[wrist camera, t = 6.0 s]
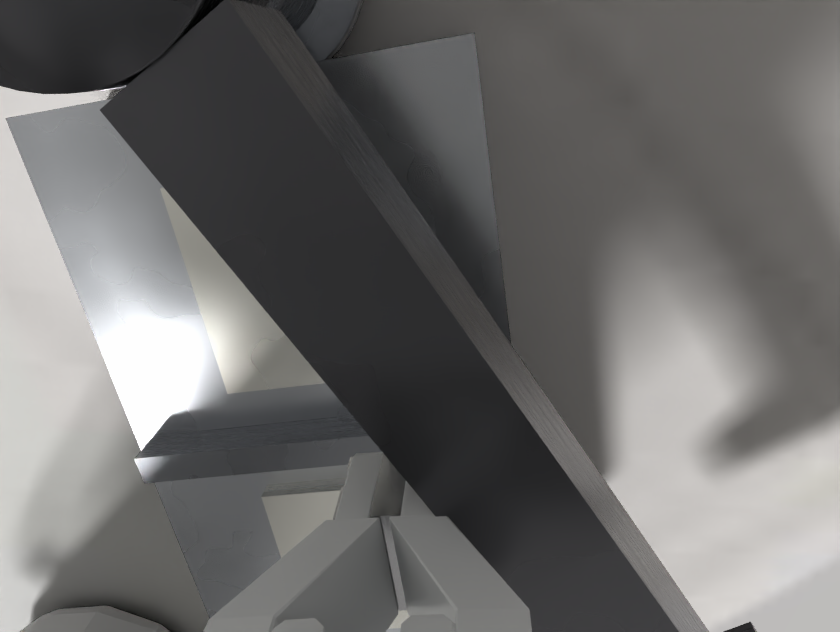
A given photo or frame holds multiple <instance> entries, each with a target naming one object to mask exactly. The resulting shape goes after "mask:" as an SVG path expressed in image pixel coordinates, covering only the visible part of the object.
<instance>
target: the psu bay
mask: <svg viewBox="0 0 840 632" xmlns="http://www.w3.org/2000/svg"><path fill="white" fill-rule="evenodd" d="M316 63H317V64H318V66H319V67H320V69H321V70H322V71H323V73H324V74H325V76H326V77H327V79H328V80H329V82H330V83H331V85H332V86H333V87H334V89H335V90H336V92H337V93H338V95H339V96H340V98H341V99H342V100H343V102H344V103H345V105H346V106H347V108H348V109H349V111H350V112H351V114H352V115H353V116H354V118H355V119H356V121H357V122H358V124H359V125H360V127H361V128H362V129H363V131H364V132H365V134H366V135H367V137H368V138H369V140H370V141H371V142H372V144H373V145H374V147H375V148H376V150H377V151H378V153H379V154H380V156H381V157H382V158H383V160H384V161H385V163H386V164H387V166H388V167H389V169H390V170H391V171H392V173H393V174H394V176H395V177H396V179H397V180H398V182H399V183H400V185H401V186H402V187H403V189H404V190H405V192H406V193H407V195H408V196H409V198H410V199H411V200H412V202H413V203H414V205H415V206H416V208H417V209H418V211H419V212H420V214H421V215H422V216H423V218H424V219H425V221H426V222H427V224H428V225H429V227H430V228H431V229H432V231H433V232H434V234H435V235H436V237H437V238H438V240H439V241H440V243H441V244H442V245H443V247H444V248H445V250H446V251H447V253H448V254H449V256H450V257H451V258H452V260H453V261H454V263H455V264H456V266H457V267H458V269H459V270H460V271H461V273H462V274H463V276H464V277H465V279H466V280H467V282H468V283H469V285H470V286H471V287H472V289H473V290H474V292H475V293H476V295H477V296H478V298H479V299H480V300H481V302H482V303H483V305H484V306H485V308H486V309H487V311H488V312H489V314H490V315H491V316H492V318H493V319H494V321H495V322H496V324H497V325H498V327H499V328H500V329H501V331H502V332H503V334H504V335H505V337H506V338H507V340H508V341H509V343H510V344H511V340H510V332H509V323H508V315H507V306H506V298H505V289H504V281H503V272H502V264H501V255H500V247H499V238H498V230H497V221H496V213H495V204H494V196H493V187H492V178H491V170H490V161H489V153H488V144H487V136H486V127H485V119H484V110H483V102H482V93H481V85H480V76H479V68H478V59H477V51H476V42H475V34H474V33H471V34H465V35H460V36H454V37H449V38H443V39H438V40H432V41H427V42H421V43H416V44H410V45H405V46H399V47H394V48H388V49H383V50H378V51H372V52H367V53H361V54H356V55H350V56H345V57H339V58H334V59H328V60H323V61H317V62H316ZM110 100H111V99H109V100H103V101H98V102H92V103H87V104H81V105H76V106H70V107H65V108H60V109H54V110H49V111H43V112H38V113H32V114H27V115H21V116H16V117H10V118H6V120H7V123H8V125H9V128H10V130H11V133H12V135H13V138H14V140H15V143H16V145H17V147H18V150H19V152H20V155H21V157H22V160H23V162H24V165H25V167H26V169H27V172H28V174H29V177H30V179H31V182H32V184H33V187H34V189H35V192H36V194H37V196H38V199H39V201H40V204H41V206H42V209H43V211H44V214H45V216H46V218H47V221H48V223H49V226H50V228H51V231H52V233H53V236H54V238H55V241H56V243H57V245H58V248H59V250H60V253H61V255H62V258H63V260H64V263H65V265H66V267H67V270H68V272H69V275H70V277H71V280H72V282H73V285H74V287H75V290H76V292H77V294H78V297H79V299H80V302H81V304H82V307H83V309H84V312H85V314H86V316H87V319H88V321H89V324H90V326H91V329H92V331H93V334H94V336H95V339H96V341H97V343H98V346H99V348H100V351H101V353H102V356H103V358H104V361H105V363H106V365H107V368H108V370H109V373H110V375H111V378H112V380H113V383H114V385H115V388H116V390H117V392H118V395H119V397H120V400H121V402H122V405H123V407H124V410H125V412H126V415H127V417H128V419H129V422H130V424H131V427H132V429H133V432H134V434H135V437H136V439H137V441H138V444H139V446H140V449H141V451H140V453H139V454H138V455H137V456H136V457H135V459H134V460H135V462H136V464H137V467H138V469H139V472H140V474H141V476H142V479H143V481H144V483H155V486H156V488H157V490H158V493H159V495H160V498H161V500H162V503H163V505H164V508H165V510H166V513H167V515H168V517H169V520H170V522H171V525H172V527H173V530H174V532H175V535H176V537H177V539H178V542H179V544H180V547H181V549H182V552H183V554H184V557H185V559H186V562H187V564H188V566H189V569H190V571H191V574H192V576H193V579H194V581H195V584H196V586H197V588H198V591H199V593H200V596H201V598H202V601H203V603H204V606H205V608H206V611H207V613H208V615H209V618H211V617H212V616H213V615H215V614H216V613H217V612H218V611H219V610H220V609H222V608H223V607H224V606H225V605H226V604H228V603H229V602H230V601H231V600H232V599H233V598H235V597H236V596H237V595H238V594H239V593H241V592H242V591H243V590H244V589H245V588H246V587H248V586H249V585H250V584H251V583H252V582H254V581H255V580H256V579H257V578H258V577H259V576H261V575H262V574H263V573H264V572H265V571H266V570H268V569H269V568H270V567H271V566H272V565H274V564H275V563H276V562H277V561H278V560H279V559H281V558H282V557H283V556H284V555H285V554H287V553H288V552H289V551H290V550H291V549H292V548H294V547H295V546H296V545H297V544H298V543H300V542H301V541H302V540H303V539H304V538H305V537H307V536H308V535H309V534H310V533H311V532H313V531H314V530H315V529H316V528H317V527H318V526H320V525H321V524H322V523H323V522H324V521H326V520H333V516H334V513H335V509H336V505H337V502H338V498H339V494H340V491H341V488H342V487H343V486H344V484H345V481H346V477H347V474H348V471H347V466H348V463H349V460H350V457H351V456H354V455H355V454H356V453H370V452H382V451H381V450H380V449H379V447H378V446H377V445H376V444H375V443H374V441H373V440H372V439H371V438H370V437H369V435H368V434H367V433H366V432H365V430H364V429H363V428H362V427H361V426H360V424H359V423H358V422H357V421H356V420H355V418H354V417H353V416H352V415H351V414H350V412H349V411H348V410H347V409H346V407H345V406H344V405H343V404H342V403H341V401H340V400H339V399H338V398H337V397H336V395H335V394H334V393H333V392H332V391H331V389H330V388H329V387H328V386H327V385H326V383H325V382H324V381H323V380H322V378H321V377H320V376H319V375H318V374H317V372H316V371H315V370H314V369H313V368H312V366H311V365H310V364H309V363H308V362H307V360H306V359H305V358H304V357H303V355H302V354H301V353H300V352H299V351H298V349H297V348H296V347H295V346H294V345H293V343H292V342H291V341H290V340H289V339H288V337H287V336H286V335H285V334H284V333H283V331H282V330H281V329H280V328H279V326H278V325H277V324H276V323H275V322H274V320H273V319H272V318H271V317H270V316H269V314H268V313H267V312H266V311H265V310H264V308H263V307H262V306H261V305H260V303H259V302H258V301H257V300H256V299H255V297H254V296H253V295H252V294H251V293H250V291H249V290H248V289H247V288H246V287H245V285H244V284H243V283H242V282H241V280H240V279H239V278H238V277H237V276H236V274H235V273H234V272H233V271H232V270H231V268H230V267H229V266H228V265H227V264H226V262H225V261H224V260H223V259H222V258H221V256H220V255H219V254H218V253H217V251H216V250H215V249H214V248H213V247H212V245H211V244H210V243H209V242H208V241H207V239H206V238H205V237H204V236H203V235H202V233H201V232H200V231H199V230H198V228H197V227H196V226H195V225H194V224H193V222H192V221H191V220H190V219H189V218H188V216H187V215H186V214H185V213H184V212H183V210H182V209H181V208H180V207H179V205H178V204H177V203H176V202H175V201H174V199H173V198H172V197H171V196H170V195H169V193H168V192H167V191H166V190H165V189H164V187H163V186H162V185H161V184H160V183H159V181H158V180H157V179H156V178H155V176H154V175H153V174H152V173H151V172H150V170H149V169H148V168H147V167H146V166H145V164H144V163H143V162H142V161H141V160H140V158H139V157H138V156H137V155H136V153H135V152H134V151H133V150H132V149H131V147H130V146H129V145H128V144H127V143H126V141H125V140H124V139H123V138H122V137H121V135H120V134H119V133H118V132H117V130H116V129H115V128H114V127H113V126H112V124H111V123H110V122H109V121H108V120H107V118H106V117H105V116H104V115H103V114H102V112H101V111H100V109H101V108H102V107H103V106H105V105H106V104H107V103H108V102H109V101H110ZM409 617H410V616H409V614H408V612H407V610H401V611H398V615H397V617H396V618H395V619H394V621H393V622H392V624H391V625H390V627H389V628H388V629H387V631H386V632H400V629H401V624H402V623H403V622H404V621H405V620H406V619H408V618H409Z"/></svg>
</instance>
